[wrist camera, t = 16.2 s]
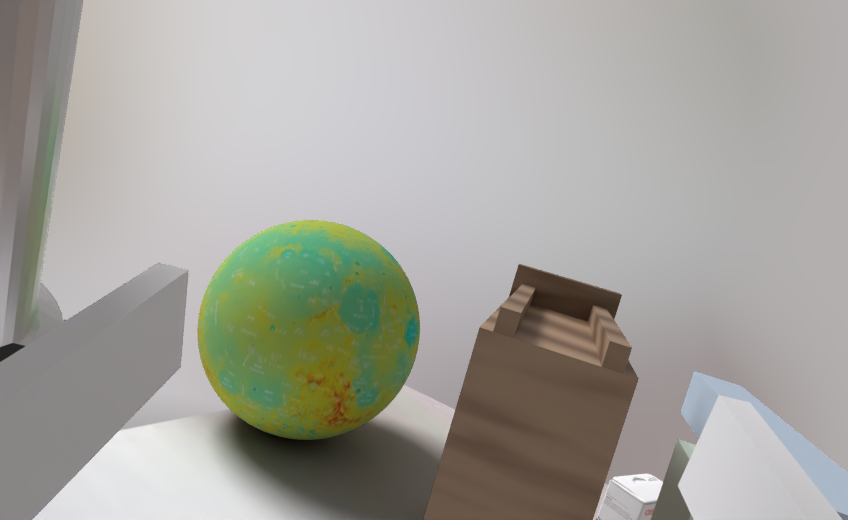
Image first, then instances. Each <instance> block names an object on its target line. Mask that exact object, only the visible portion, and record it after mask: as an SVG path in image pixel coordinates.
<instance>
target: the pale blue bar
mask: <svg viewBox="0 0 848 520" xmlns="http://www.w3.org/2000/svg"><path fill="white" fill-rule="evenodd" d="M719 395H721V396H725V397H729V398H733V399H738V400H742V401H746V402H750V403H751V404H752V405H753V407H754V408H755V409H756V410H757V412H758V413H759V414H760V415H761V417H762V418H763V419H764V421H765V422H766V423H767V424H768V426H769V427H770V428H771V429H772V431H773V432H774V433H775V434H776V436H777V437H778V438H779V440H780V441H781V442H782V443H783V445H784V446H785V447H786V448H787V450H788V451H789V452H790V453H791V455H792V456H793V457H794V459H795V460H796V461H797V462H798V464H799V465H800V466H801V467H802V469H803V470H804V471H805V472H806V474H807V475H808V476H809V478H810V479H811V480H812V481H813V483H814V484H815V485H816V486H817V488H818V489H819V490H820V491H821V493H822V494H823V495H824V497H825V498H826V499H827V500H828V502H829V503H830V504H831V505H832V507H833V508H834V509H835V510H836V512H837V513H838V514H839V516H840V517H841V518H842V519H843V520H848V473H847V472H846V471H845V470H843V469H842V468H841V467H840V466H838V465H837V464H836V463H835V462H833V461H832V460H831V459H830V458H829V457H827V456H826V455H825V454H824V453H822V452H821V451H820V450H819V449H818V448H816V447H815V446H814V445H813V444H811V443H810V442H809V441H808V440H807V439H805V438H804V437H803V436H802V435H800V434H799V433H798V432H797V431H796V430H794V429H793V428H792V427H791V426H789V425H788V424H787V423H786V422H784V421H783V420H782V419H781V418H780V417H778V416H777V415H776V414H775V413H773V412H772V411H771V410H770V409H769V408H767V407H766V406H765V405H764V404H762V403H761V402H760V401H759V400H757V399H756V398H755V397H754V396H753V395H751V394H750V393H749V392H748V391H746V390H745V389H744V388H743V387H742V386H739V385H736V384H733V383H730V382H727V381H723V380H720V379H717V378H714V377H711V376H708V375H704V374H701V373H698V372H694V374H693V377H692V380H691V383H690V386H689V389H688V392H687V395H686V398H685V401H684V404H683V407H682V410H681V414H682V415H683V417H684V418H685V420H686V421H687V423H688V424H689V425H690V427H691V428H692V430H693V431H694V433H695V434H696V436H697V437H698V439H699V438H700V435H701V433H702V431H703V429H704V427H705V424H706V422H707V420H708V418H709V416H710V413H711V411H712V409H713V407H714V405H715V402H716V400H717V398H718V396H719Z"/></svg>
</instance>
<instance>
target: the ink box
mask: <svg viewBox="0 0 848 520" xmlns="http://www.w3.org/2000/svg"><path fill="white" fill-rule="evenodd" d="M662 484H663V481H661V480H659V479H658V478H656V477H654V476H652V475H650V474H637V475H628V476H617V477H613V480H610V482H609V485H608V487H607V490H606V493H605V496H604V499H603V501H602V504H601V507H600V510H599V512H598V515H597V518H596V520H651V517H652V514H653V511H654V508H655V505H656V502H657V499H658V496H659V493H660V490H661V487H662Z"/></svg>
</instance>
